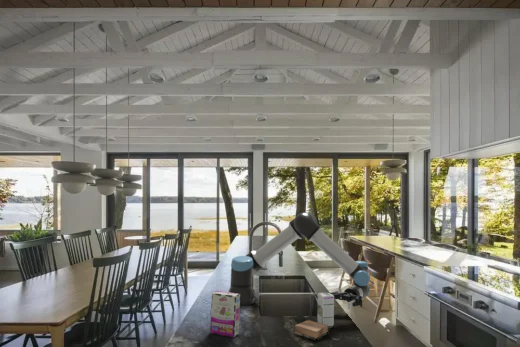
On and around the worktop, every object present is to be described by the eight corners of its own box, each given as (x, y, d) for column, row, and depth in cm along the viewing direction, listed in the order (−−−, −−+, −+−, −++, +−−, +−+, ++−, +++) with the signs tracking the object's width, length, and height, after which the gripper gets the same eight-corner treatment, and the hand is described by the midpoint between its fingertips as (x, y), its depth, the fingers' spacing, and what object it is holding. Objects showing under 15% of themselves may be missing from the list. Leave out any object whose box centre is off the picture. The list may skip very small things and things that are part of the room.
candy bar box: (239, 333, 150) (241, 293, 151) (234, 338, 146) (236, 296, 147) (215, 329, 154) (217, 290, 155) (209, 333, 150) (211, 292, 151)
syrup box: (334, 328, 161) (335, 295, 162) (322, 329, 159) (323, 295, 160) (328, 324, 166) (329, 292, 167) (316, 325, 165) (317, 292, 166)
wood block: (307, 329, 160) (308, 319, 161) (327, 335, 154) (328, 325, 154) (295, 334, 153) (295, 325, 153) (315, 341, 146) (315, 331, 147)
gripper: (376, 306, 180) (360, 317, 163) (330, 297, 195) (311, 305, 178) (377, 291, 181) (360, 300, 164) (331, 282, 196) (312, 289, 179)
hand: (335, 302), depth 171 cm, fingers open, 13 cm apart
